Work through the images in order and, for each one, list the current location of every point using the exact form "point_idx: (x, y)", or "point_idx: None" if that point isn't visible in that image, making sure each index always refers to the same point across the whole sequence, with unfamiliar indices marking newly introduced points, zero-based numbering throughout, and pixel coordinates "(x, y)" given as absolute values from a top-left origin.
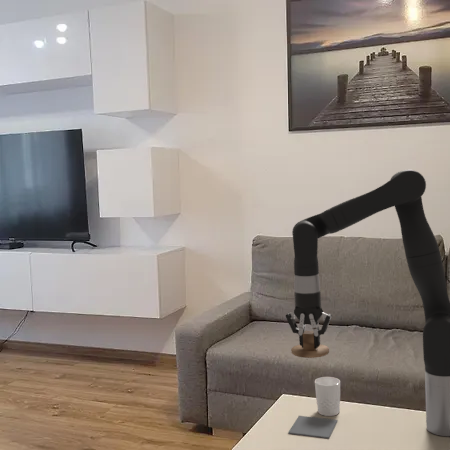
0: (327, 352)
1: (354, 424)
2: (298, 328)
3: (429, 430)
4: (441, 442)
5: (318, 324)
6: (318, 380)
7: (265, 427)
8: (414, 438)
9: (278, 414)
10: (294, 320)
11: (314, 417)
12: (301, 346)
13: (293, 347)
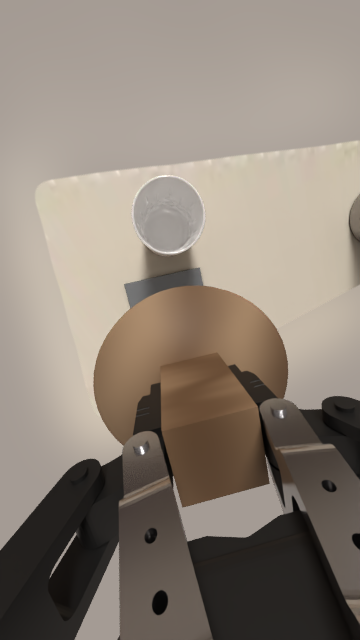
0: (284, 377)
1: (231, 266)
2: (111, 502)
3: (357, 237)
4: None
5: (336, 460)
6: (135, 207)
7: (94, 353)
8: (334, 272)
9: (81, 292)
10: (5, 626)
11: (155, 278)
12: (130, 365)
13: (100, 399)
